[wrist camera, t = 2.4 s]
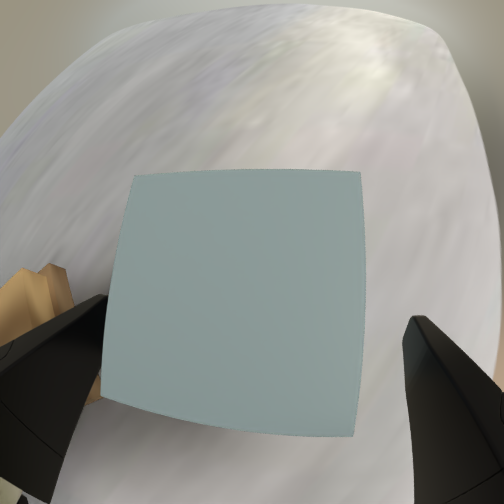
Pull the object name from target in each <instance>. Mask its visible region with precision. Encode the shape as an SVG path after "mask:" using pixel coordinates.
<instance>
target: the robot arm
mask: <svg viewBox="0 0 504 504" xmlns="http://www.w3.org/2000/svg"><path fill="white" fill-rule="evenodd" d="M108 297H109V295H104V294H98V295H96V296H94V297H92V298H90V299H88V300H86V301H84V302H82V303H80V304H79V305H77V306H75V307H73V308H71V309H69V310H67V311H65V312H63V313H61V314H60V315H58V316H56V317H54V318H52V319H50V320H48V321H47V322H45V323H43V324H41V325H39V326H37V327H35V328H34V329H32V330H30V331H28V332H26V333H24V334H23V335H21V336H19V337H17V338H16V339H14V340H12V341H10V342H8V343H6V344H5V345H3V346H1V347H0V504H28V501H27V498H26V497H25V496H24V495H23V494H22V492H23V491H24V492H26V493H28V494H30V495H31V496H33V497H35V498H37V499H39V500H41V501H43V502H45V503H47V504H50V502H51V500H52V496H53V493H54V489H55V486H56V483H57V480H58V476H59V473H60V470H61V467H62V464H63V461H64V458H65V455H66V452H67V449H68V446H69V444H70V441H71V438H72V436H73V433H74V430H75V428H76V425H77V422H78V420H79V417H80V415H81V412H82V410H83V407H84V405H85V403H86V400H87V398H88V395H89V393H90V391H91V388H92V386H93V384H94V382H95V379H96V377H97V375H98V373H99V370H100V368H101V366H102V353H103V341H104V330H105V321H106V312H107V305H108ZM402 346H403V359H404V374H405V391H406V399H407V406H408V414H409V422H410V431H411V441H412V453H413V469H414V504H504V392H502V390H501V389H500V388H499V387H498V386H497V385H496V384H495V382H493V380H492V379H491V378H490V377H489V376H488V375H487V374H486V373H485V372H484V371H483V370H482V369H481V368H480V367H479V366H478V365H477V364H476V363H475V362H474V361H473V360H472V359H471V358H470V357H469V356H468V355H467V354H466V353H465V352H464V351H463V350H462V349H461V348H460V347H458V346H457V345H456V344H455V343H454V342H453V341H452V340H451V339H450V338H449V337H448V336H447V335H446V334H445V333H444V332H443V331H441V330H440V329H439V328H438V327H437V326H436V325H435V324H434V323H433V322H432V321H431V320H429V319H428V318H427V317H426V316H424V315H416V316H412V317H411V318H410V320H409V322H408V325H407V328H406V331H405V333H404V336H403V341H402Z"/></svg>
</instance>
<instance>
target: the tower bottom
mask: <svg viewBox="0 0 504 504" xmlns="http://www.w3.org/2000/svg"><path fill="white" fill-rule="evenodd" d="M38 274H41V275H43V276H46V277H47V283H48V288H49V293H50V297H51V302H52V306H53V311H54V315H55V317H56V316H58V315H60V314H61V313H63V312H65V311H67V310H69V309H71V308H73V307H75V306H74V302H73V299H72V295H71V291H70V287H69V283H68V279H67V275H66V271H65V269H63V268H61V267H58V266H55V265H53V264H50V263H49V264H47V265H46V266H45V267H44V268H43V269H42V270H40V271H39V272H38ZM101 398H104V397H102V396H101V380H100V378H99V375H97V377H96V379H95V382H94V384H93V386H92V388H91V391H90V393H89V395H88V398H87V400H86V403H85V405H87V404H90V403H92V402H94V401H97V400H99V399H101ZM85 405H84V406H85Z"/></svg>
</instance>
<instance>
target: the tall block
mask: <svg viewBox="0 0 504 504" xmlns="http://www.w3.org/2000/svg"><path fill="white" fill-rule="evenodd" d="M365 303H366V254H365V227H364V209H363V196H362V184H361V174H360V172H353V171H333V170H304V169H239V170H209V171H190V172H174V173H161V174H149V175H138V176H134V179H133V183H132V186H131V190H130V194H129V197H128V201H127V205H126V209H125V213H124V218H123V222H122V226H121V231H120V235H119V240H118V245H117V250H116V255H115V260H114V266H113V272H112V278H111V284H110V290H109V297H108V305H107V312H106V321H105V330H104V341H103V353H102V369H101V396H102V397H105V398H108V399H111V400H114V401H117V402H120V403H123V404H126V405H129V406H132V407H135V408H139V409H142V410H146V411H149V412H153V413H156V414H160V415H164V416H168V417H172V418H176V419H180V420H185V421H189V422H194V423H199V424H204V425H209V426H215V427H220V428H227V429H233V430H240V431H247V432H256V433H265V434H275V435H288V436H307V437H353V434H354V428H355V421H356V415H357V407H358V399H359V391H360V382H361V372H362V360H363V347H364V330H365Z"/></svg>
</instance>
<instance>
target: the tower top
mask: <svg viewBox="0 0 504 504" xmlns="http://www.w3.org/2000/svg"><path fill="white" fill-rule="evenodd" d="M54 317H55V315H54V311H53V306H52V302H51V297H50V293H49V288H48V283H47V277H46V276H43V275H41V274H38V273H35V272H32V271H30V270H27V269H24V268H21V269H20V270H19V271H18V272H17V273H16V274H15V275H14V276H13V277H12V278H11V279H10V280H9V281H8V282H7V283H6V284H5V285H4V286H3V287H2V288H1V289H0V347H1V346H3V345H5V344H6V343H8V342H10V341H12V340H14V339H16V338H17V337H19V336H21V335H23V334H24V333H26V332H28V331H30V330H32V329H34V328H35V327H37V326H39V325H41V324H43V323H45V322H47V321H48V320H50V319H52V318H54Z"/></svg>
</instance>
